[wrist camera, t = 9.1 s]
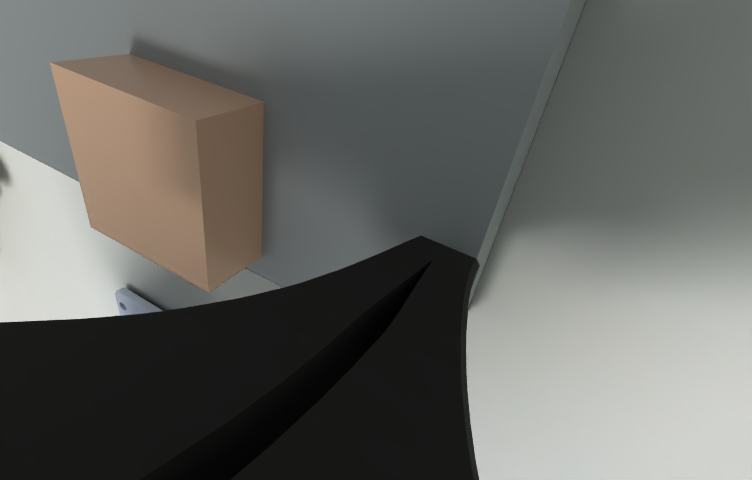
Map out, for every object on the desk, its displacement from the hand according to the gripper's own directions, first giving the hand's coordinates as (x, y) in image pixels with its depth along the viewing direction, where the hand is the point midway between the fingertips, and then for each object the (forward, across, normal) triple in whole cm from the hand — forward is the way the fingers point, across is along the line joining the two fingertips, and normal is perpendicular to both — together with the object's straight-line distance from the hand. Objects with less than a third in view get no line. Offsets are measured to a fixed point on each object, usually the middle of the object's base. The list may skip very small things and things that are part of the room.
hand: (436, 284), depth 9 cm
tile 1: (0, +8, 0) cm, 8 cm away
